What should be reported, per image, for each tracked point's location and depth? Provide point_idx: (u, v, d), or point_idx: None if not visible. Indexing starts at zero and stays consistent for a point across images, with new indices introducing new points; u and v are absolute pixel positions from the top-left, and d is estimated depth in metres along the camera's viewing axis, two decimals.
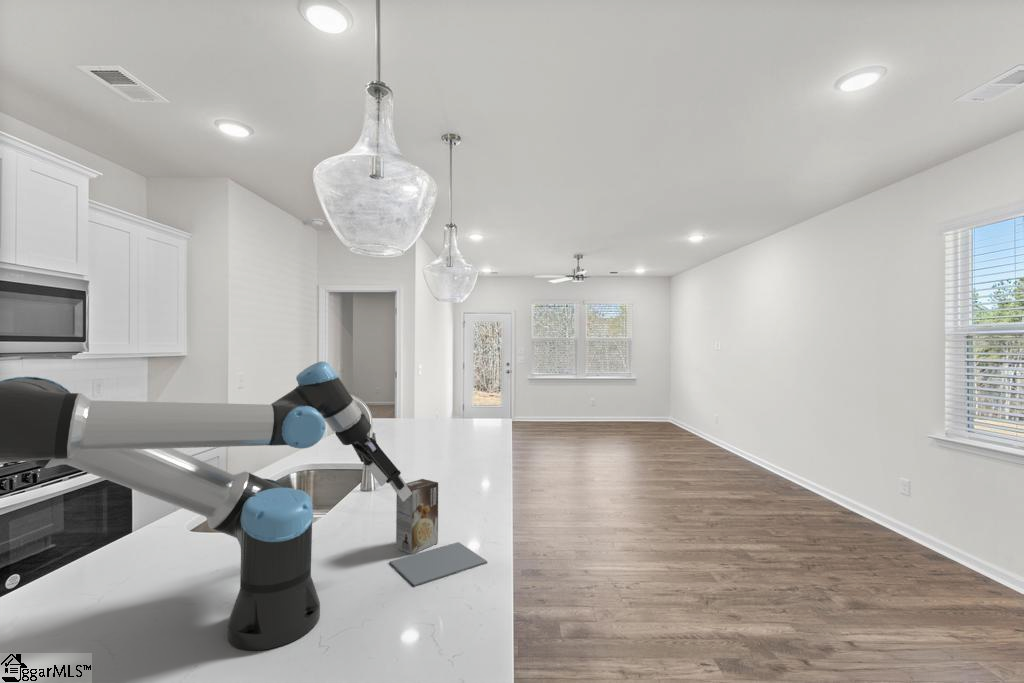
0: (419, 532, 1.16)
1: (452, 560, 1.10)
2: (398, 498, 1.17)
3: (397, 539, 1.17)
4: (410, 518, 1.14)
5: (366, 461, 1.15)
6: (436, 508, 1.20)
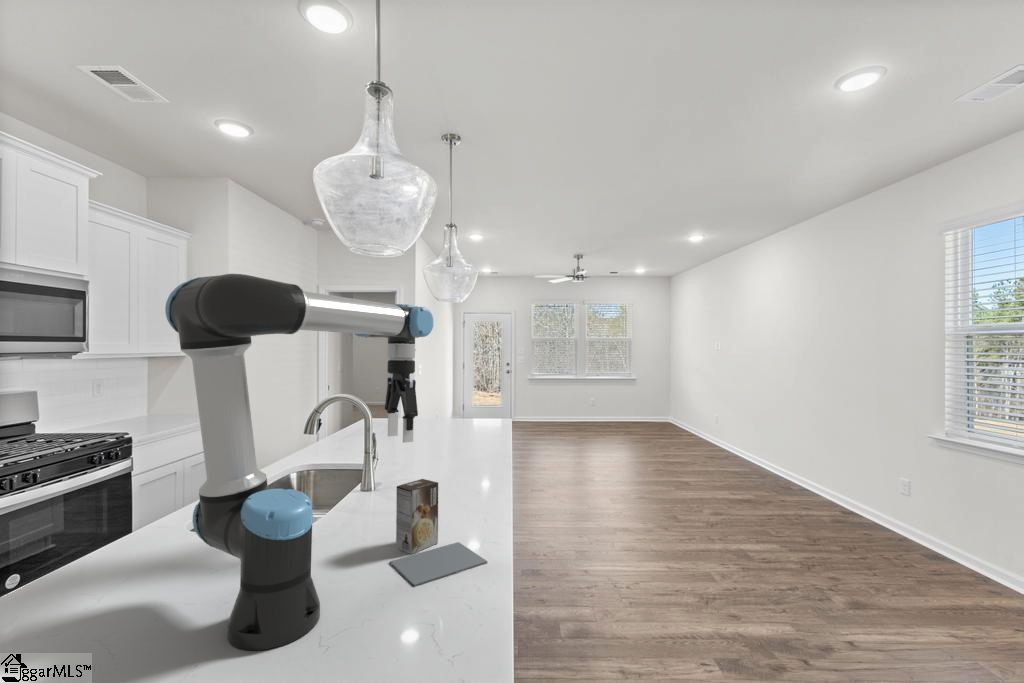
0: (419, 532, 1.16)
1: (452, 560, 1.10)
2: (398, 498, 1.17)
3: (397, 539, 1.17)
4: (410, 518, 1.14)
5: (391, 406, 1.32)
6: (436, 508, 1.20)
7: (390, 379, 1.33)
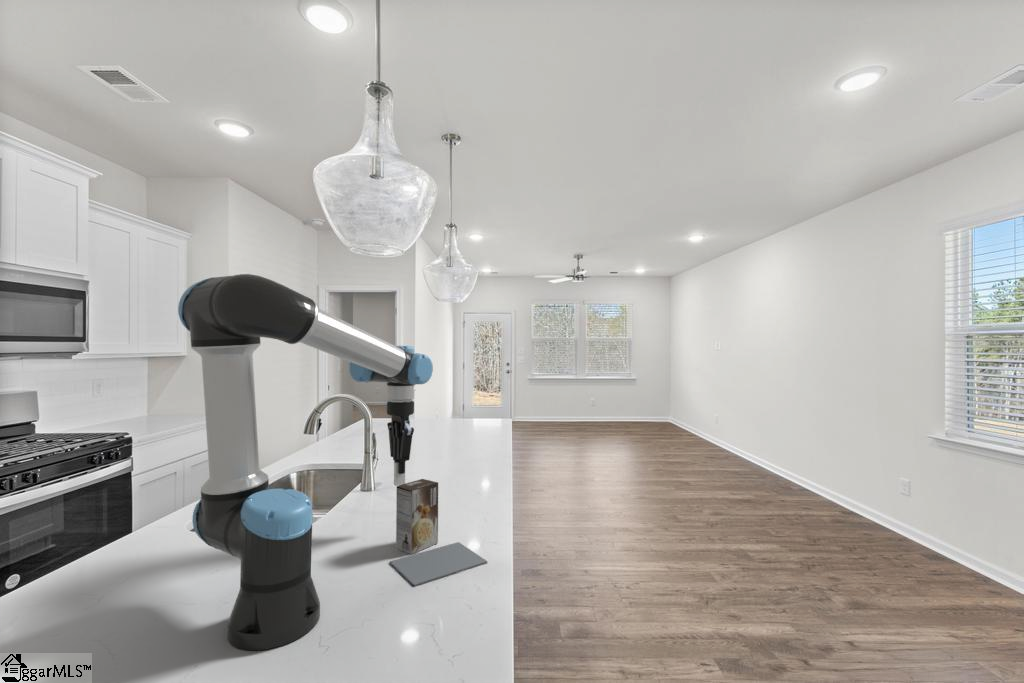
0: (419, 532, 1.16)
1: (452, 560, 1.10)
2: (398, 498, 1.17)
3: (397, 539, 1.17)
4: (410, 518, 1.14)
5: (396, 452, 1.29)
6: (436, 508, 1.20)
7: (390, 423, 1.33)
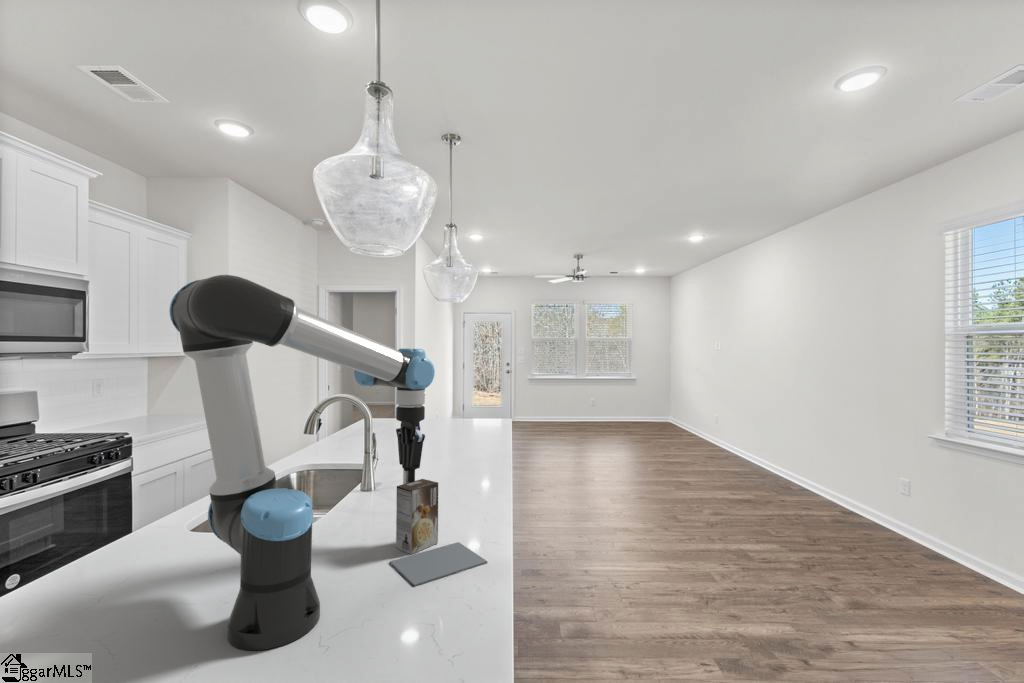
0: (419, 532, 1.16)
1: (452, 560, 1.10)
2: (398, 498, 1.17)
3: (397, 539, 1.17)
4: (410, 518, 1.14)
5: (405, 459, 1.24)
6: (436, 508, 1.20)
7: (399, 429, 1.27)
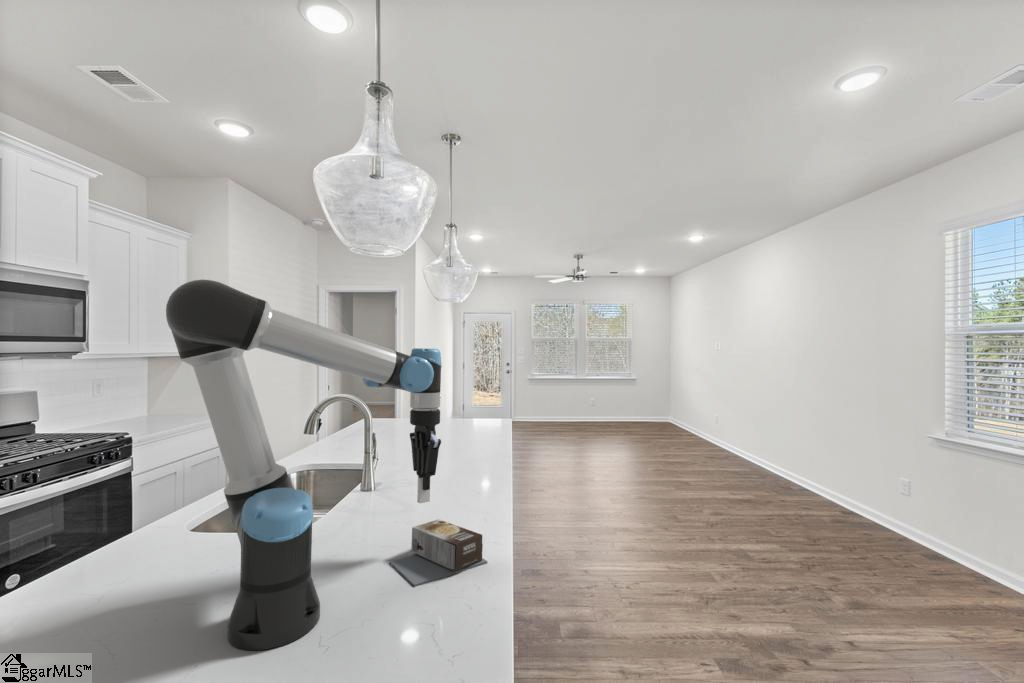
0: None
1: None
2: (447, 545, 1.06)
3: (418, 532, 1.12)
4: (435, 560, 1.08)
5: (419, 465, 1.17)
6: None
7: (412, 434, 1.21)
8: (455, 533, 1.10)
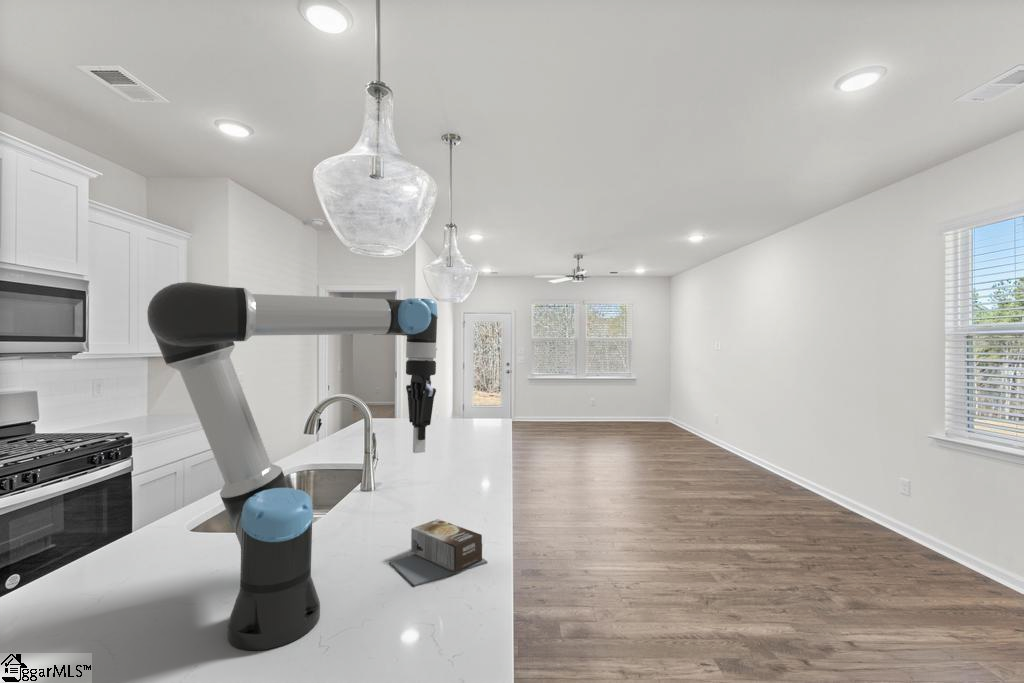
0: None
1: None
2: (446, 546, 1.06)
3: (417, 533, 1.12)
4: (434, 561, 1.08)
5: (415, 416, 1.17)
6: None
7: (409, 386, 1.21)
8: (454, 533, 1.10)
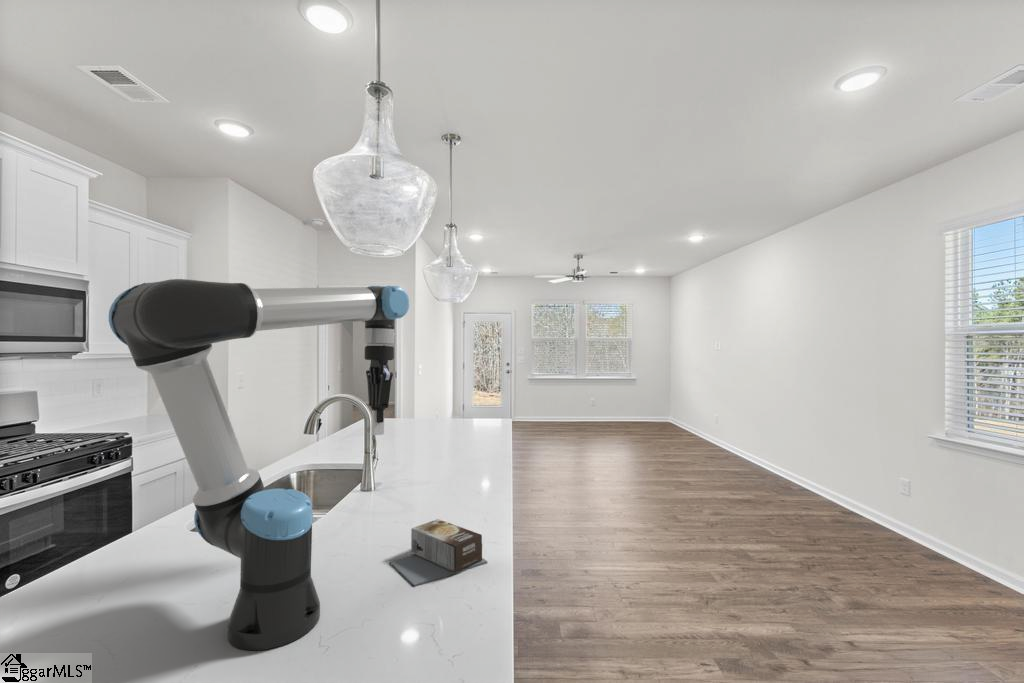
0: None
1: None
2: (446, 546, 1.06)
3: (417, 533, 1.12)
4: (434, 561, 1.08)
5: (374, 400, 1.21)
6: None
7: (369, 371, 1.25)
8: (454, 533, 1.10)
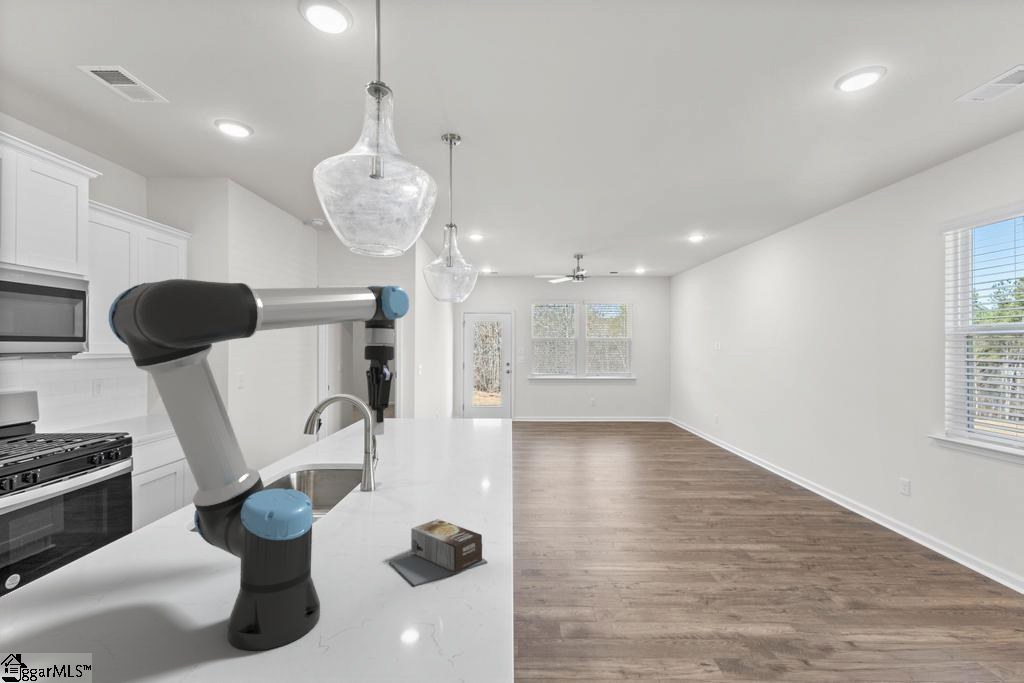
0: None
1: None
2: (446, 546, 1.06)
3: (417, 533, 1.12)
4: (434, 561, 1.08)
5: (374, 400, 1.21)
6: None
7: (369, 371, 1.25)
8: (454, 533, 1.10)
